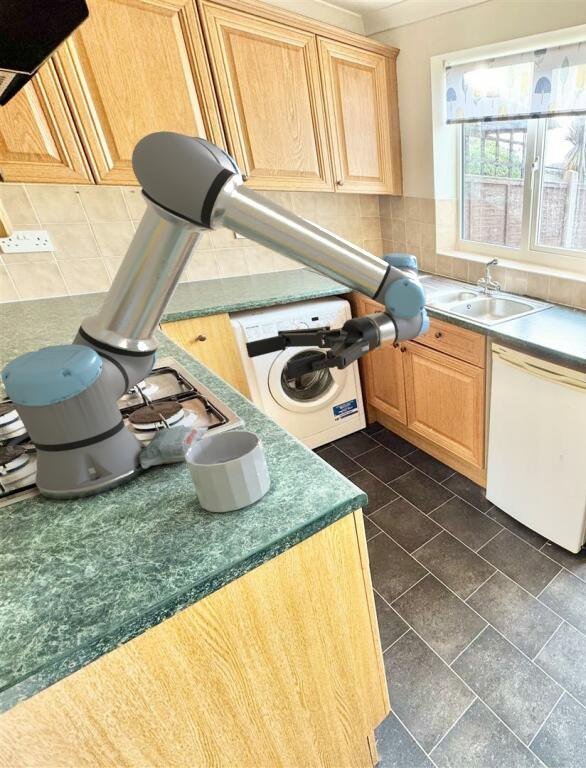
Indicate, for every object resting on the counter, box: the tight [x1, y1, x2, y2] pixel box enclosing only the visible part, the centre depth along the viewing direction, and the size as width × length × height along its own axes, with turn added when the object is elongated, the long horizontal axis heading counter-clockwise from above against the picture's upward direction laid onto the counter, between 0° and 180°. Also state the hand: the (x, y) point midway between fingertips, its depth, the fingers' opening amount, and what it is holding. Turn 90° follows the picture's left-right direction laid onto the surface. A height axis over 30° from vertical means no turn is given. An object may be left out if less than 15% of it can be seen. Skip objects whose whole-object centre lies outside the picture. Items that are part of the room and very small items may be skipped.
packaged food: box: [139, 424, 209, 470], centre depth 83 cm, size 9×12×5 cm
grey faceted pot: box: [184, 429, 272, 513], centre depth 73 cm, size 11×11×10 cm
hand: (267, 360), depth 73 cm, fingers open, 13 cm apart
